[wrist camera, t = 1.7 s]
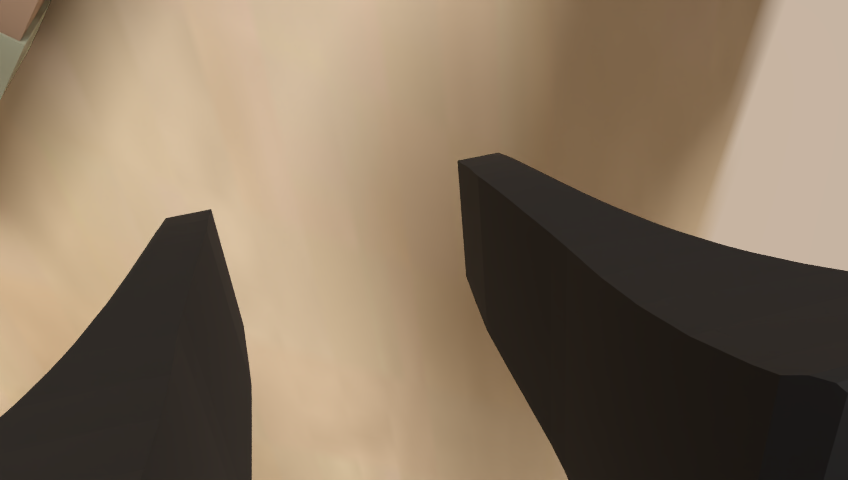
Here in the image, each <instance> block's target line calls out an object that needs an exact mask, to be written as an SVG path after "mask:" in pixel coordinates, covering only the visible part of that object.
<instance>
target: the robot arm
mask: <svg viewBox="0 0 848 480" xmlns="http://www.w3.org/2000/svg"><path fill="white" fill-rule="evenodd" d="M458 172H459V186H460V199H461V212H462V225H463V239H464V252H465V265H466V277H467V280H468V282H469V285H470V288H471V290H472V293H473V296H474V298H475V301H476V304H477V306H478V309H479V311H480V314H481V316H482V319H483V321H484V324H485V326H486V329H487V331H488V333H489V334H490V336H491V338H492V340H493V342H494V344H495V345H496V347H497V349H498V351H499V353H500V354H501V356H502V358H503V360H504V362H505V363H506V365H507V367H508V369H509V371H510V372H511V374H512V376H513V378H514V379H515V381H516V383H517V385H518V386H519V388H520V390H521V392H522V393H523V395H524V397H525V399H526V401H527V402H528V404H529V406H530V408H531V409H532V411H533V413H534V415H535V416H536V418H537V420H538V422H539V423H540V425H541V427H542V429H543V430H544V432H545V434H546V436H547V438H548V439H549V441H550V443H551V445H552V447H553V449H554V451H555V453H556V455H557V457H558V459H559V460H560V462H561V464H562V466H563V468H564V470H565V473H566V475H567V477H568V480H848V271H843V270H837V269H832V268H826V267H820V266H814V265H808V264H803V263H798V262H793V261H789V260H784V259H780V258H775V257H771V256H766V255H761V254H757V253H752V252H748V251H744V250H740V249H736V248H733V247H728V246H725V245H721V244H718V243H715V242H712V241H708V240H705V239H702V238H698V237H695V236H692V235H689V234H685V233H682V232H679V231H676V230H673V229H670V228H667V227H664V226H662V225H659V224H656V223H653V222H651V221H648V220H646V219H643V218H641V217H638V216H636V215H633V214H631V213H628V212H626V211H623V210H621V209H618V208H616V207H614V206H611V205H609V204H607V203H605V202H602V201H600V200H598V199H596V198H593V197H591V196H589V195H587V194H585V193H583V192H580V191H578V190H576V189H574V188H572V187H570V186H568V185H566V184H564V183H562V182H560V181H558V180H556V179H554V178H552V177H550V176H548V175H546V174H543V173H541V172H539V171H537V170H535V169H533V168H531V167H529V166H527V165H525V164H523V163H521V162H519V161H517V160H515V159H513V158H510V157H508V156H506V155H503V154H500V153H495V154H490V155H485V156H480V157H474V158H469V159H464V160H459V161H458ZM0 480H252V395H251V378H250V370H249V362H248V354H247V347H246V340H245V332H244V326H243V322H242V318H241V315H240V311H239V308H238V304H237V300H236V297H235V293H234V290H233V286H232V283H231V279H230V275H229V272H228V268H227V265H226V261H225V257H224V254H223V250H222V247H221V243H220V240H219V236H218V232H217V229H216V225H215V222H214V218H213V214H212V211H211V210H205V211H200V212H195V213H190V214H185V215H180V216H175V217H170V218H166V219H165V220H164V222H163V223H162V225H161V226H160V228H159V229H158V230H157V232H156V233H155V234H154V236H153V237H152V239H151V240H150V242H149V243H148V245H147V247H146V248H145V250H144V251H143V253H142V254H141V256H140V257H139V259H138V260H137V262H136V263H135V265H134V266H133V268H132V269H131V270H130V272H129V273H128V275H127V276H126V278H125V279H124V280H123V282H122V283H121V285H120V286H119V287H118V289H117V290H116V292H115V293H114V294H113V296H112V297H111V299H110V300H109V301H108V303H107V304H106V305H105V307H104V308H103V309H102V310H101V311H100V313H99V314H98V315H97V316H96V318H95V319H94V320H93V321H92V323H91V324H90V325H89V326H88V327H87V329H86V330H85V331H84V332H83V334H82V335H81V336H80V337H79V339H78V340H77V341H76V342H75V343H74V345H73V346H72V347H71V348H70V349H69V350H68V351H67V352H66V354H65V355H64V356H63V357H62V358H61V359H60V360H59V361H58V362H57V363H56V364H55V365H54V366H53V367H52V369H51V370H50V371H49V372H48V373H47V374H46V375H45V376H44V377H43V378H42V379H41V380H40V381H39V382H38V383H37V384H35V385H34V386H33V387H32V388H31V389H30V390H29V391H28V392H27V393H26V394H25V395H24V396H23V397H22V398H21V399H20V400H19V401H18V402H17V403H16V404H15V405H14V406H13V407H12V408H10V409H9V410H8V411H7V412H6V413H5V414H3V415H2V416H1V417H0Z"/></svg>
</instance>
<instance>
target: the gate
mask: <svg viewBox="0 0 848 480" xmlns="http://www.w3.org/2000/svg"><path fill="white" fill-rule="evenodd" d="M50 2H51V0H0V100H1V98H2V96H3V94H4V92H5V91H6V89H7V87H8V85H9V84H10V82H11V80H12V78H13V77H14V75H15V73H16V71H17V69H18V68H19V66H20V64H21V62H22V61H23V59H24V57H25V55H26V54H27V52H28V50H29V48H30V46H31V44H32V42H33V40H34V37H35V35H36V33H37V31H38V29H39V26H40V24H41V22H42V20H43V17H44V15H45V13H46V11H47V9H48V6H49V4H50Z"/></svg>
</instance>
